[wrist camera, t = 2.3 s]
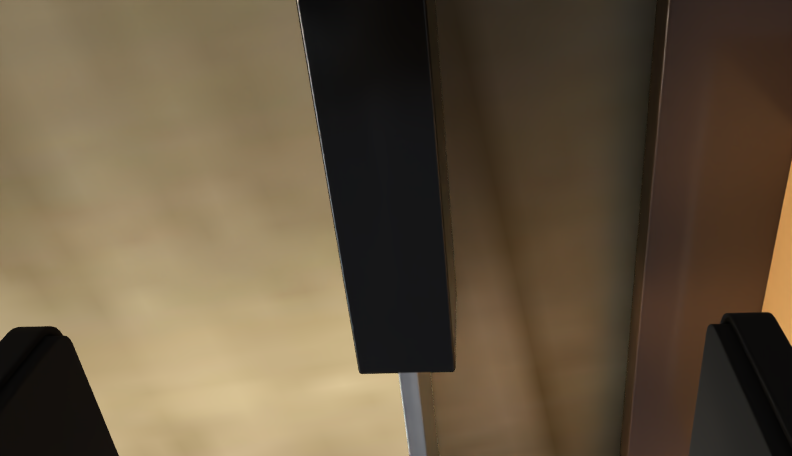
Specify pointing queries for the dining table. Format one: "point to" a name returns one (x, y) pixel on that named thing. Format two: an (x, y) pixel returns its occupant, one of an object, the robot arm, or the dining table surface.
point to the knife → (388, 189)
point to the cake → (782, 269)
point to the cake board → (704, 199)
